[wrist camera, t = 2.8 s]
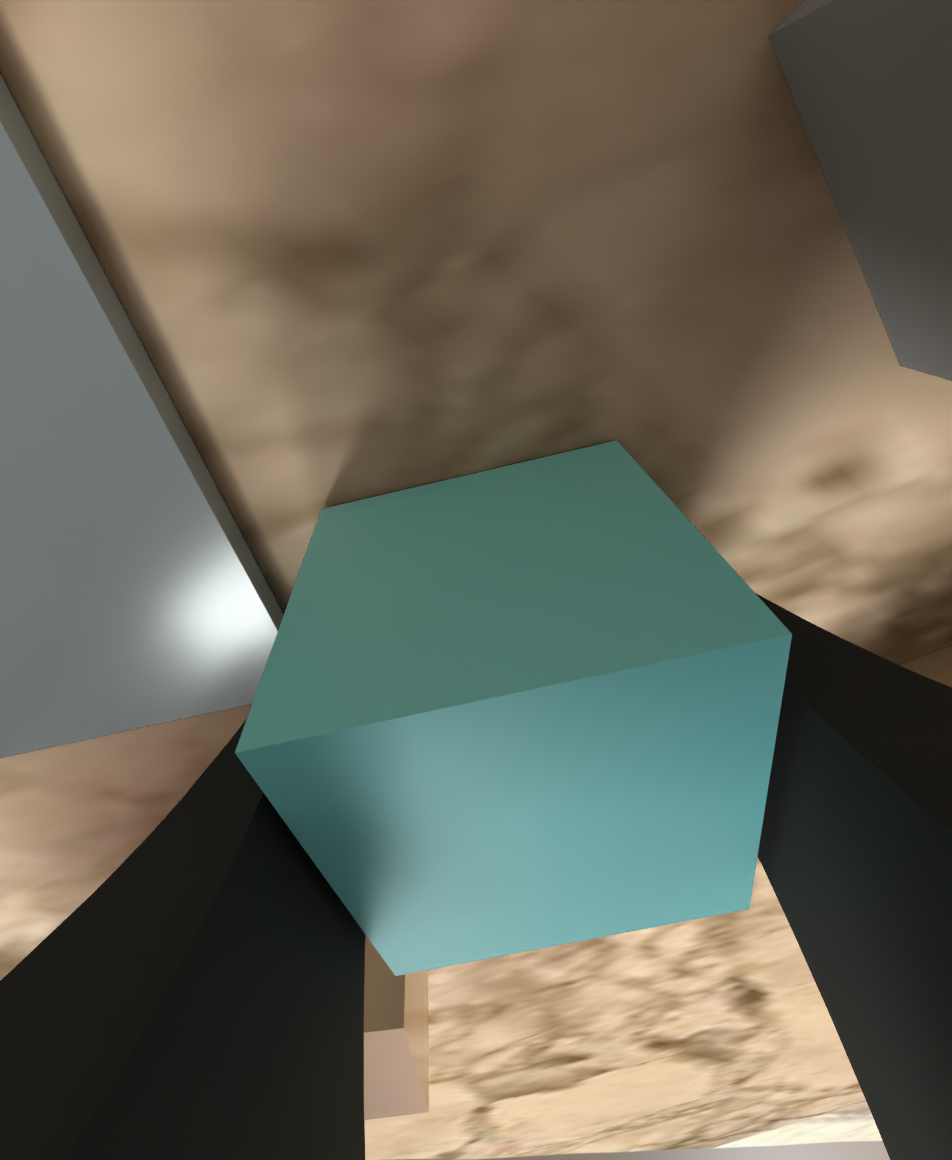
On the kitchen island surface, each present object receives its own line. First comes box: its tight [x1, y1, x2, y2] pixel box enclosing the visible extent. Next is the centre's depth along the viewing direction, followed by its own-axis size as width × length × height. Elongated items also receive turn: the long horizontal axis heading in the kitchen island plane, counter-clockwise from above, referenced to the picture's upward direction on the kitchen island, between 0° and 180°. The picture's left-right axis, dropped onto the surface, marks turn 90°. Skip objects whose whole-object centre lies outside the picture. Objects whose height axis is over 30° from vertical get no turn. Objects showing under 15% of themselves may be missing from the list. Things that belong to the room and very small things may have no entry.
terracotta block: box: [364, 936, 429, 1120], centre depth 12 cm, size 5×5×5 cm
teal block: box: [235, 440, 792, 976], centre depth 8 cm, size 5×5×5 cm
